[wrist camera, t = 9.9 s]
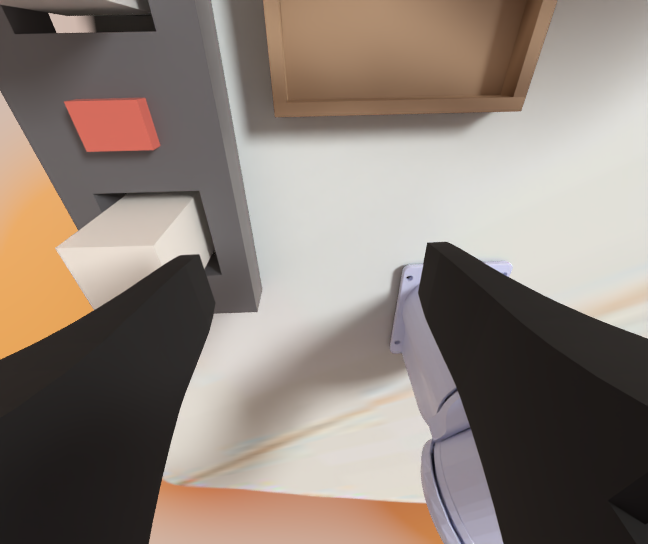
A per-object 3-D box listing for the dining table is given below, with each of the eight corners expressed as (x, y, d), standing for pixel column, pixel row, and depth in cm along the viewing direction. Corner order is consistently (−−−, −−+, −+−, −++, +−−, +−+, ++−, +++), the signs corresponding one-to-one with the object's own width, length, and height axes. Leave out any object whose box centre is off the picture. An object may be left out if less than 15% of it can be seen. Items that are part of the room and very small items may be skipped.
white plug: (217, 243, 20) (181, 315, 15) (158, 244, 20) (99, 318, 15) (202, 186, 18) (153, 245, 12) (135, 187, 18) (55, 248, 12)
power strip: (262, 289, 23) (255, 320, 20) (143, 293, 23) (120, 325, 20) (149, -347, 9) (77, -525, 6) (-167, -348, 9) (-384, -532, 6)
